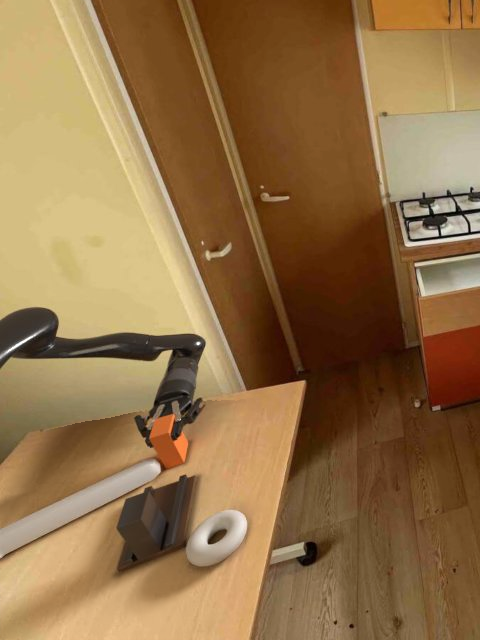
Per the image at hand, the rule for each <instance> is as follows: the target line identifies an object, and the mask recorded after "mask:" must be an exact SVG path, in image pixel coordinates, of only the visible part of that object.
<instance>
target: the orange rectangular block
mask: <svg viewBox="0 0 480 640" xmlns="http://www.w3.org/2000/svg"><path fill="white" fill-rule="evenodd" d="M174 417H175V416H174V414H171V415H167V416H164V417H160V418H157V419H155V421H154V424H153V427H152V431H151V434H150V437H149V439H150V441H151V443H152V445H153V448H154V450H155V452H156V454H157V456H158V457H159V459H160V461H161V463H162V464H163V466H164V468H165V469H170V468H172V467H176V466H179V465H182V464H184V463H185V462H186V456H187V451H188V448H189V442H188V440H187V437H186V435H185V433H184V431H183V430H182V433H181V436H180V437H178V439H177V440H175V441H173V440H172V438H171V436H170V433H171V430H172V426H173V423H175V419H174Z"/></svg>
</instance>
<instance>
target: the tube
mask: <svg viewBox="0 0 480 640" xmlns="http://www.w3.org/2000/svg"><path fill="white" fill-rule="evenodd" d="M161 473H162V468H161V464H160V462H158V460H157V459H156V458H154V457H153V458H146V459H143V460H141V461H139V462H137V463H135V464H132V465H131V466H129V467H127V468H124V469H123V470H120V471H119V472H117V473H115V474H112V475H110V476H108V477H106V478H104V479H102V480H99V481H97V482H95V483H93V484H91V485H89V486H87V487H85V488H83V489H80V490H79V491H77V492H75V493H73V494H71V495H69V496H66V497H64V498H62V499H60V500H58V501H56V502H54V503H52V504H49V505H47V506H46V507H42V508H41V509H39V510H37V511H35V512H33V513H31V514H29V515H27V516H24V517H23V518H21V519H18V520H16V521H14V522H11V523H9V524H7V525H5V526H3V527H1V528H0V559H2V558H4V556H6V555H8V553H11V552H13V551H16V550H17V549H19V548H21V547H23V546H25V545H27V544H29V543H31V542H33V541H35V540H37V539H39V538H41V537H42V536H45V535H46V534H48V533H50V532H52V531H55V530H56V529H59V528H61V527H63V526H65V525H67V524H69V523H70V522H72V521H74V520H76V519H78V518H80V517H82V516H85V515H86V514H88V513H90V512H92V511H94V510H96V509H98V508H100V507H102V506H104V505H106V504H108V503H110V502H112V501H114V500H116V499H118V498H119V497H122V496H124V495H126V494H127V493H130V492H132V491H133V490H135V489H137V488H139V487H141V486H143V485H146V484H147V483H149V482H151V481H153V480H155V479H156V478H157V477H158V476H159V475H160V474H161Z"/></svg>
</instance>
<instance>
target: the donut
mask: <svg viewBox="0 0 480 640" xmlns="http://www.w3.org/2000/svg"><path fill="white" fill-rule="evenodd" d="M223 530H226V533H225V535H224V536H223V537H222V538H221V539H220V540H218V541H217V542H215V543H211V544H209V540H210V539H211V538H212V537H213V536H214V535H215V534H216V533H218V532H220V531H223ZM247 532H248V521H247V518H246V515H244V514H243V513H242V512H241V511H240V510H234V509H226V510H225V509H224V510H221V511H218V512H215V513H214V514H212V515H210V516H208V517H207V518H205V519H204V520H203V521H202V522H201V523H199V524H198V525H197V526H196V528H195V529H194V530H193V531H192V532H191V533H190V536H189V538H188V540H187V541H186V545H185V554H186V558H187V561H189V562H190V563H191V564H192V566H196V567H201V568H202V567H209V566H210V567H211V566H213V565H216V564H218V563H220V562H222V561H224V560H226V559H227V558H229V557H230V556H231V555H232V554H233V553H234V552H235V551H236V550H237V549H239V546H240V545H241V543H242V542H243V541H244V538H245V537H246V534H247Z"/></svg>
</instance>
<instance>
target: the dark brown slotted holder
mask: <svg viewBox="0 0 480 640" xmlns="http://www.w3.org/2000/svg"><path fill="white" fill-rule="evenodd" d="M197 480H198V478H197V476H196V475H195V474H194V475H191V476H188V475H187V474H186V473H185V474H182V475H179V478H178V480H177V481H174V482H172V483H168V484H166V485H162V486H159V487H157V488H154V487H153V485H149V486H146V487H145V488H144V489H143V492H141V493H139V494H135V495H132V496H130V497H127V498H125V499H124V503H123V505H122V508H121V512H120V515H119V518H118V521H117V524H116V527H115V529H116V531H117V532H118V533H119V535H120V536H121V538H122V539H123V540H124V544H123V547H122V550H121V554H120V556H119V560H118V564H117V567H116V571H117V572H118V574H120V573H123V572H126V571H128V570H129V569H132V568H135V567H137V566H140V565H143V564H145V563H148V562H151V561H153V560H156V559H158V558H160V557H163V556H165V555H168V554H170V553H173V552H174V551H175V552H176V551H178V550H180V549H183V548H186V544H187V537H188V531H189V525H190V520H191V514H192V508H193V503H194V499H195V498H194V497H195V492H196V487H197Z"/></svg>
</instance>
